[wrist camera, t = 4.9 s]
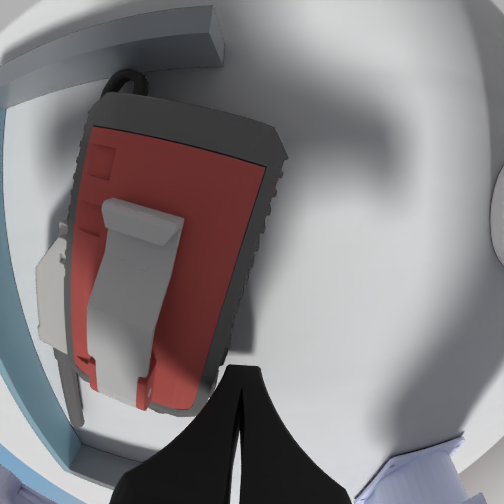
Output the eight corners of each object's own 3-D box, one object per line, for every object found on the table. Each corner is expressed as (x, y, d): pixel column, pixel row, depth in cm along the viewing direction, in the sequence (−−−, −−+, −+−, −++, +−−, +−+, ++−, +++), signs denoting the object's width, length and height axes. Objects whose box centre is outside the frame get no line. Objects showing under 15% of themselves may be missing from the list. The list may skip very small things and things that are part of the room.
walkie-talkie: (95, 74, 9) (72, 404, 15) (30, 48, 5) (46, 447, 10) (300, 115, 9) (189, 450, 15) (329, 84, 5) (178, 502, 11)
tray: (219, 481, 16) (216, 512, 13) (76, 446, 16) (64, 470, 13) (225, 44, 8) (212, 5, 5) (-2, 95, 8) (-40, 92, 5)
